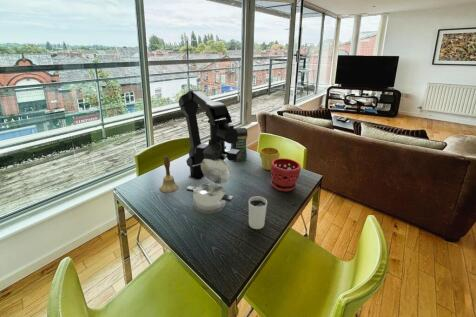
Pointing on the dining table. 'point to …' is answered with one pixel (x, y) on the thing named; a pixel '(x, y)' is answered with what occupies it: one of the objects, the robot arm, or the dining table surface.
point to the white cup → (257, 212)
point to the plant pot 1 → (268, 156)
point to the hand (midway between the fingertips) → (218, 170)
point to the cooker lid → (215, 170)
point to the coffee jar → (241, 143)
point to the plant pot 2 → (284, 174)
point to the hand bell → (168, 179)
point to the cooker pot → (209, 198)
